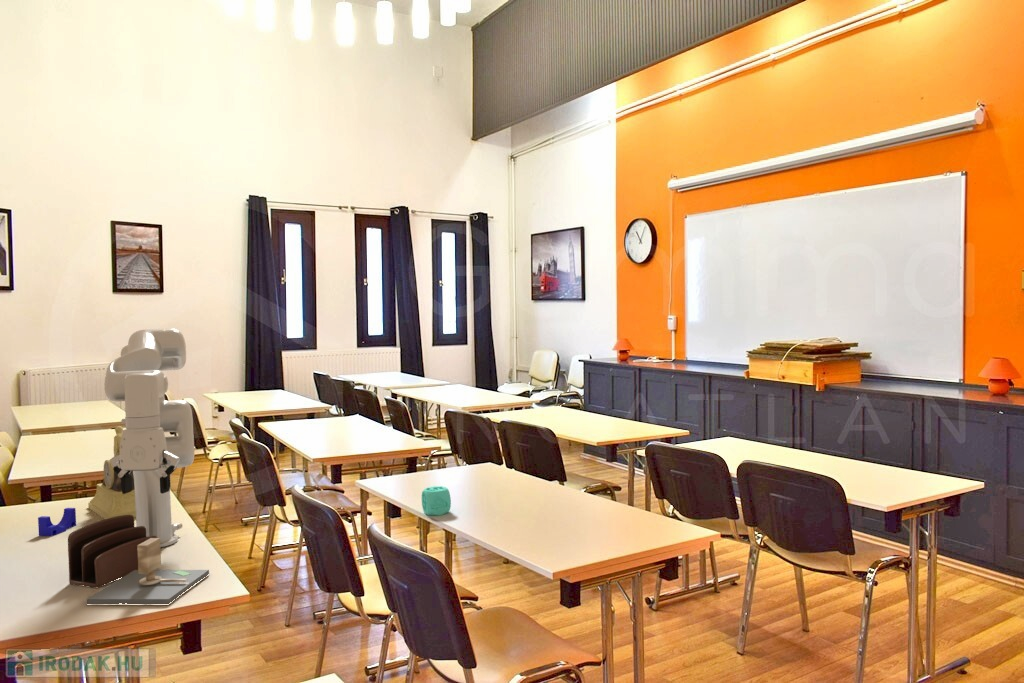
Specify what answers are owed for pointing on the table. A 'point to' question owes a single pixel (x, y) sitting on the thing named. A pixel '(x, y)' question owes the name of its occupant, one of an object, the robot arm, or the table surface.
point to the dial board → (147, 588)
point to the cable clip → (66, 522)
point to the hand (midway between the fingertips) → (146, 492)
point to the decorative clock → (113, 490)
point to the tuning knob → (151, 562)
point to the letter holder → (104, 551)
